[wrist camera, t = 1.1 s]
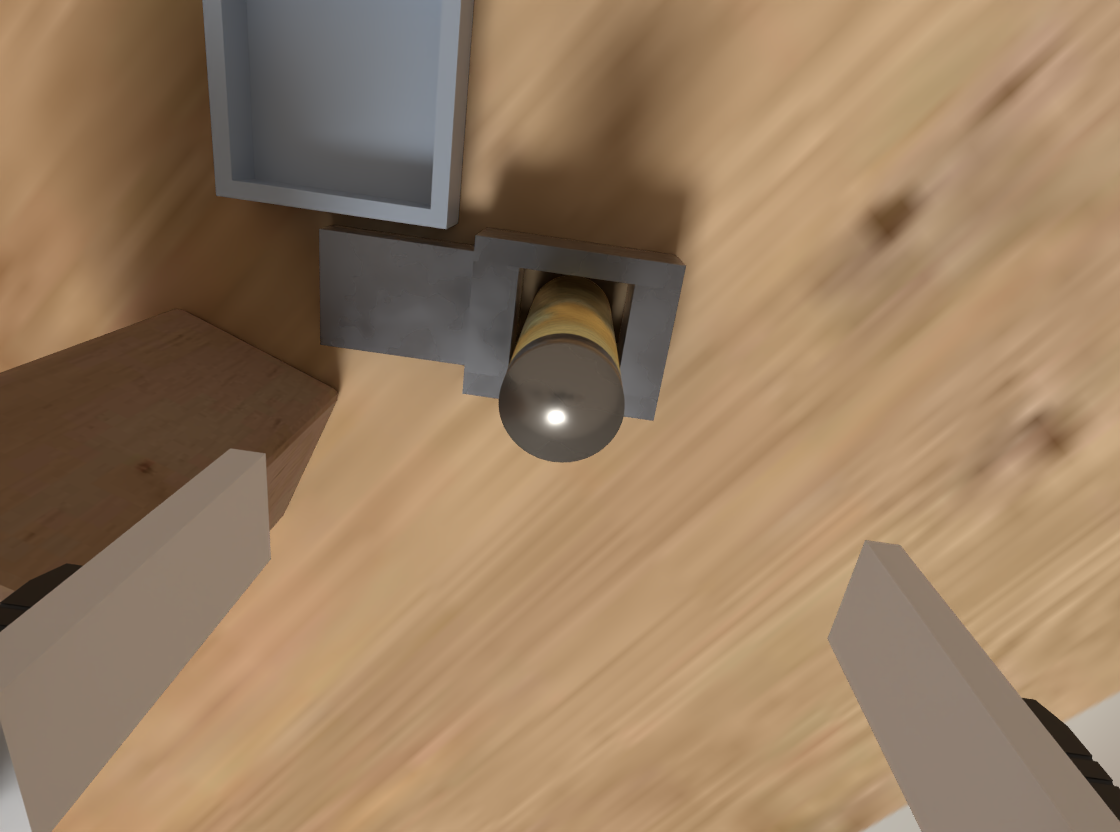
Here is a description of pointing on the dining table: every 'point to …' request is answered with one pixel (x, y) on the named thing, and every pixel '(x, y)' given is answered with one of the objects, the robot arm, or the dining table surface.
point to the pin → (564, 374)
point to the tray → (341, 104)
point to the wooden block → (139, 434)
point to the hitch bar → (486, 300)
